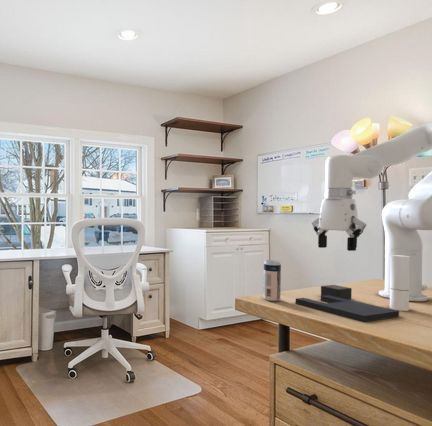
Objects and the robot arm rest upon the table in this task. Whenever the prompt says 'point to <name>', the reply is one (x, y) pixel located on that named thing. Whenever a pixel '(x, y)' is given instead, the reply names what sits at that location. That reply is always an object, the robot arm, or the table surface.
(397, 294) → the tube
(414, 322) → the table surface
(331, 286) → the black block
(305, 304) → the dark blue flat slab
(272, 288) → the beer can
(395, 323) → the table surface
